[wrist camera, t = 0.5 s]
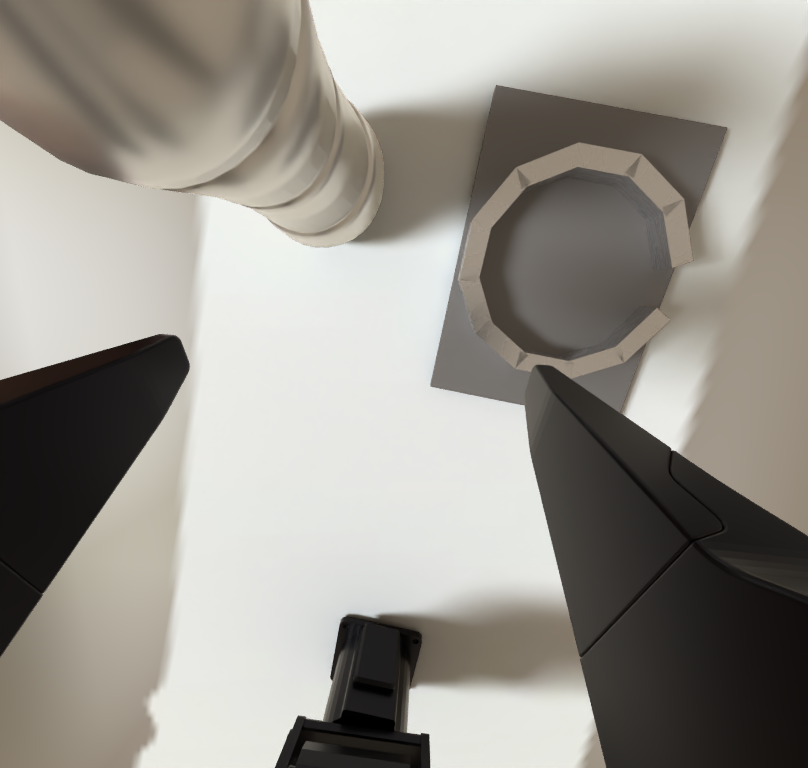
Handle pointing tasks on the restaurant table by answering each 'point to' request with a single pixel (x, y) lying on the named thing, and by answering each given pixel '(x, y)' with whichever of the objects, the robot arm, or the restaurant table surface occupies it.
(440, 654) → the restaurant table surface
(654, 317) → the split ring
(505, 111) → the ring mat
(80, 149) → the plastic bottle
